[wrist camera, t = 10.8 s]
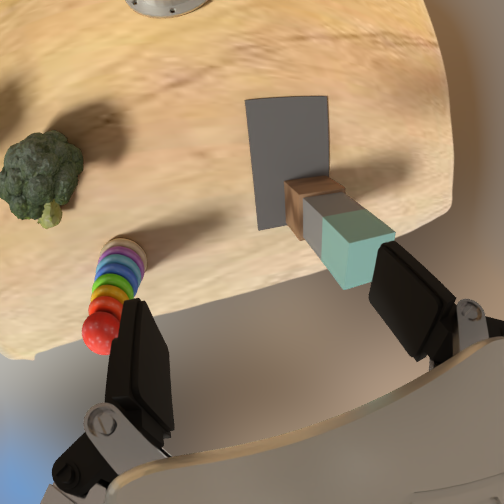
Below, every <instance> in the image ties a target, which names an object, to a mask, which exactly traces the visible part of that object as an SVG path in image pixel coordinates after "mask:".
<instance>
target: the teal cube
mask: <svg viewBox="0 0 504 504" xmlns="http://www.w3.org/2000/svg"><path fill="white" fill-rule="evenodd" d="M395 233H396V232H395V231H394V230H392V229H391V228H390V227H389V226H387V225H386V224H385V223H384V222H382V221H381V220H380V219H378V218H377V217H376V216H375V215H373V214H372V213H371V212H369V211H368V210H367V209H363V210H357V211H352V212H346V213H341V214H336V215H330V216H325V217H323V222H322V252H321V261H322V262H323V263H324V265H325V266H326V267H327V269H328V270H329V271H330V273H331V274H332V275H333V276H334V278H335V279H336V281H337V282H338V283H339V285H340V286H341V287H342V289H343V290H346V289H349V288H353V287H355V286H359V285H362V284H365V283H368V282H372V278H373V273H374V268H375V263H376V257H377V252H378V249H379V248H380V246H381V244H382V243H385V242H389V241H394V239H395Z"/></svg>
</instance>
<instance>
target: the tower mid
mask: <svg viewBox="0 0 504 504" xmlns="http://www.w3.org/2000/svg"><path fill="white" fill-rule="evenodd" d="M363 209H365V208H364V207H362V206H361V205H360V204H358V203H357V202H356V201H354V200H353V199H352V198H350V197H349V196H347V195H346V194H345V193H343V192H338V193H331V194H324V195H318V196H311V197H305V198H303V238H304V239H305V240H306V241H307V243H308V244H309V245H310V247H311V248H312V249H313V250H314V252H315V253H316V254H317V256H318V257H319V258H320V260H321V252H322V222H323V217H325V216H330V215H336V214H341V213H346V212H352V211H357V210H363Z"/></svg>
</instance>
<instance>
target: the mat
mask: <svg viewBox="0 0 504 504" xmlns="http://www.w3.org/2000/svg"><path fill="white" fill-rule="evenodd" d="M245 106H246V115H247V124H248V134H249V143H250V153H251V163H252V172H253V182H254V192H255V202H256V212H257V222H258V230H259V231H260V230H265V229H270V228H275V227H280V226H285V225H287V223H286V213H285V192H284V181H287V180H294V179H301V178H309V177H317V176H325V175H326V176H328V177H329V141H328V110H327V96H306V97H280V98H265V99H253V100H245Z"/></svg>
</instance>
